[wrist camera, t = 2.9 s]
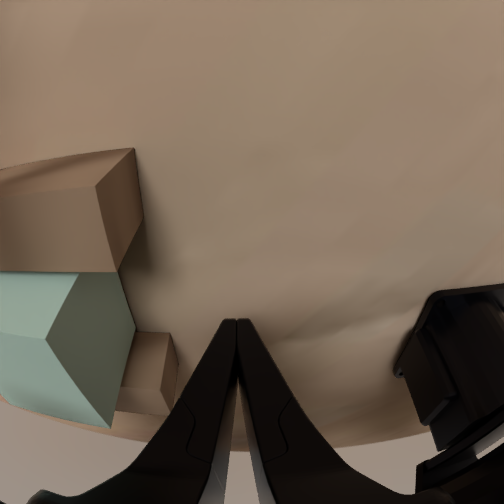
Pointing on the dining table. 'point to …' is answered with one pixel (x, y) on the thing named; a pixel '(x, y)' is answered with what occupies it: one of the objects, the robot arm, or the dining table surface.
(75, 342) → the block
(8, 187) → the chute
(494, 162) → the dining table surface
